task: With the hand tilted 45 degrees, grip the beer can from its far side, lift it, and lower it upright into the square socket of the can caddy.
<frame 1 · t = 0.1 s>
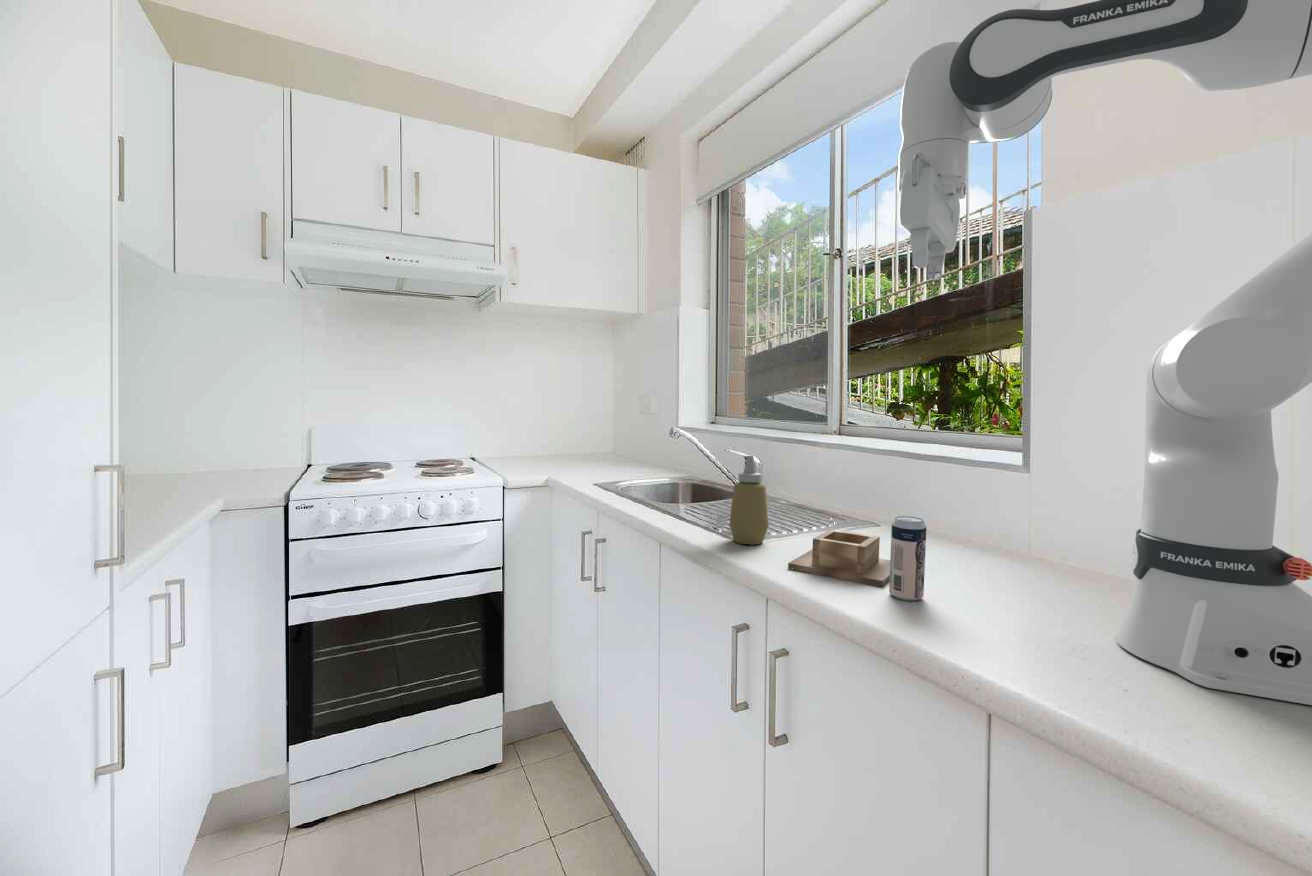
hand: (927, 273, 82), 48 cm above the worktop, tool pointing down, fingers open, 8 cm apart
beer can: (905, 598, 87), on the worktop
can caddy: (845, 568, 101), on the worktop
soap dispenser: (748, 543, 119), on the worktop
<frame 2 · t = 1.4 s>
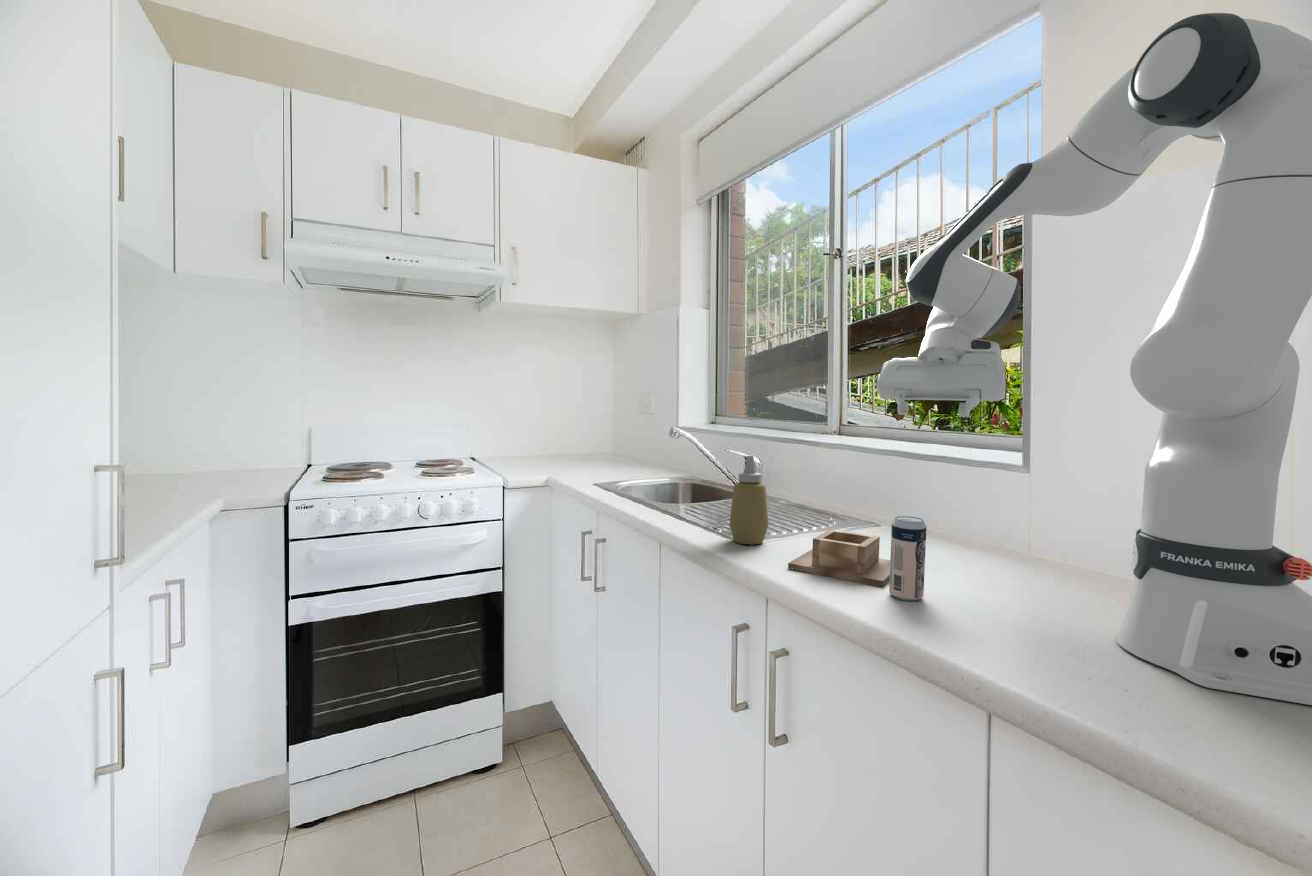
hand: (931, 413, 97), 28 cm above the worktop, tool tilted 45°, fingers open, 8 cm apart
nothing on the worktop moved.
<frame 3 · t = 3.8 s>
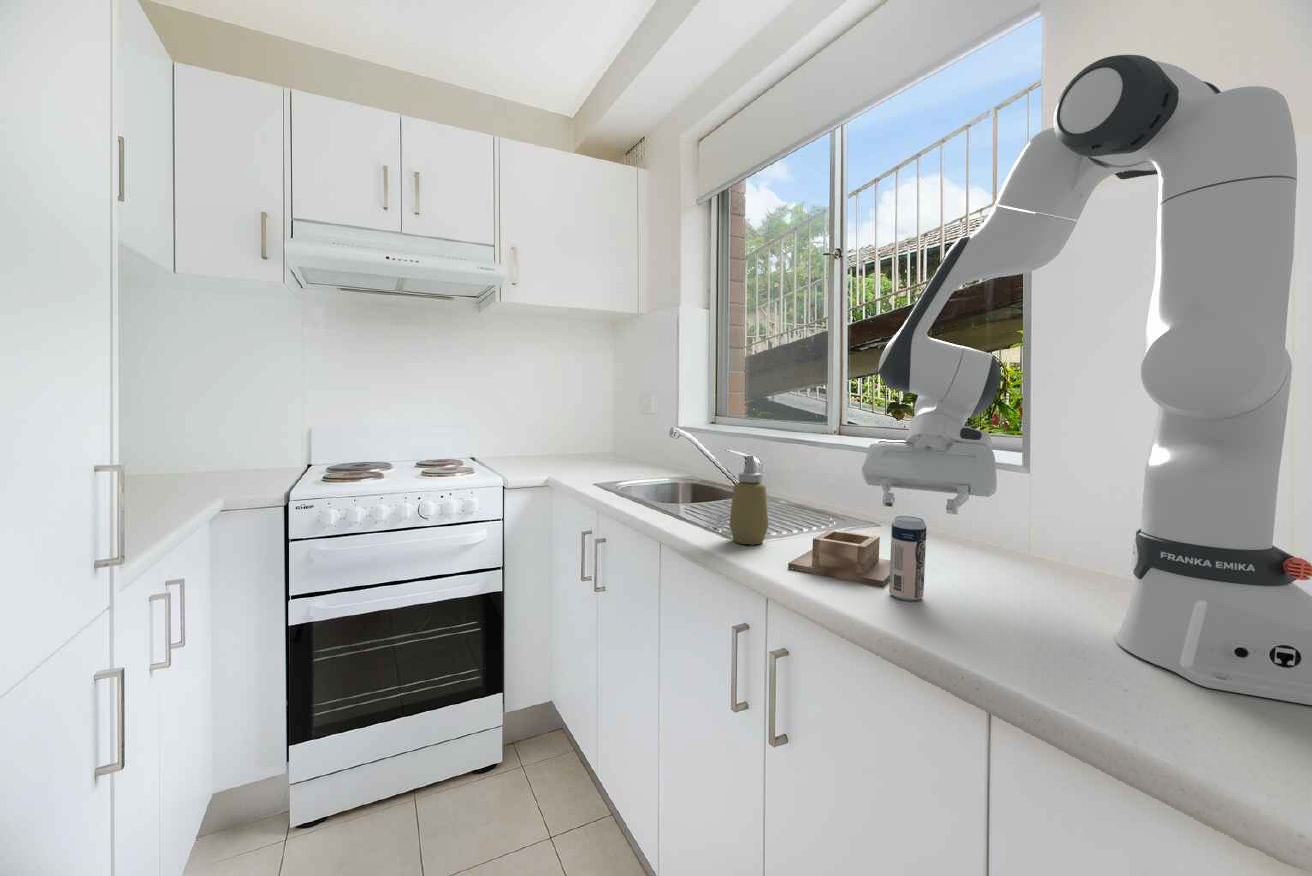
hand: (918, 508, 91), 13 cm above the worktop, tool tilted 45°, fingers open, 8 cm apart
nothing on the worktop moved.
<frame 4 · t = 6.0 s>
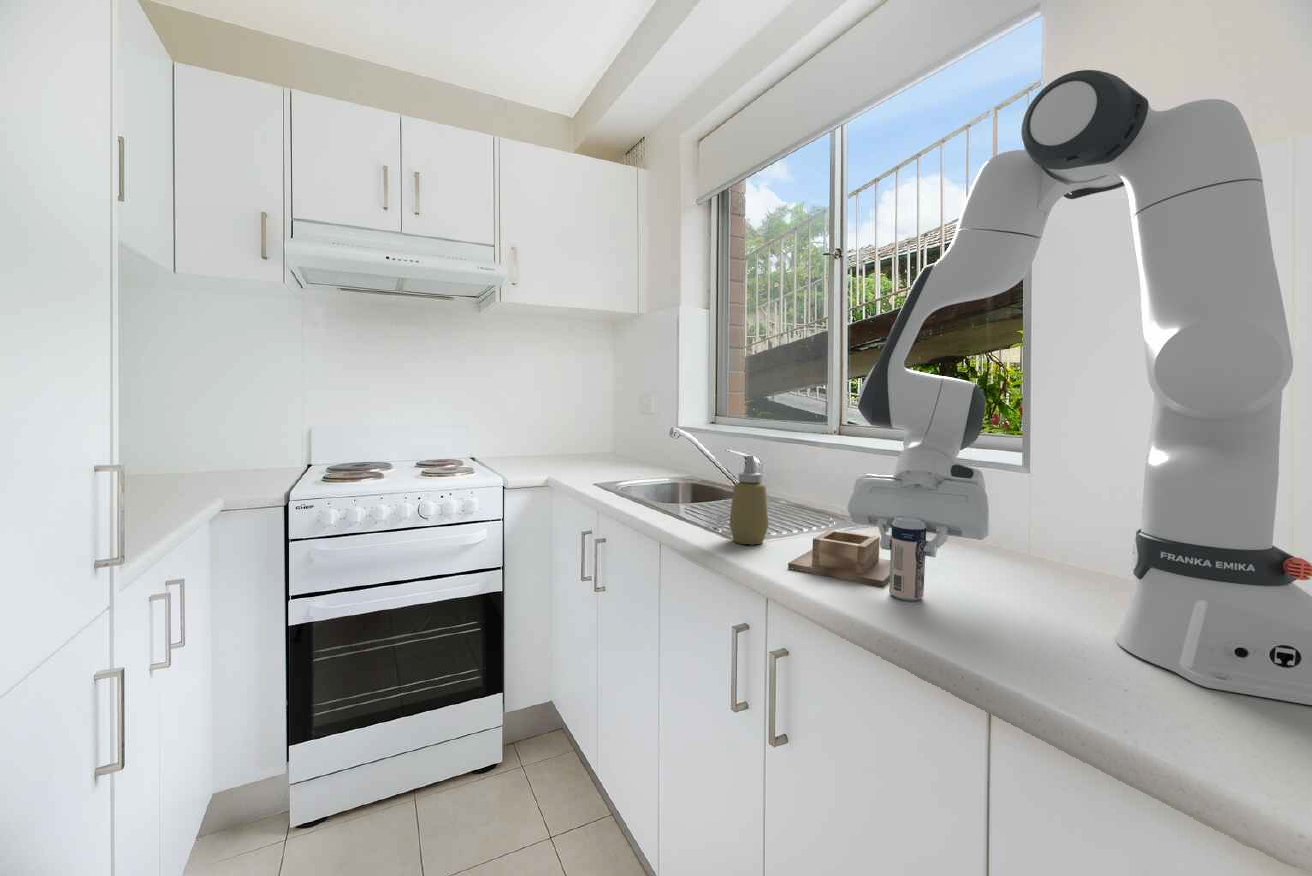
hand: (906, 551, 86), 7 cm above the worktop, tool tilted 45°, fingers closed on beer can, 5 cm apart
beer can: (905, 598, 87), on the worktop, touching gripper
everything else where it was.
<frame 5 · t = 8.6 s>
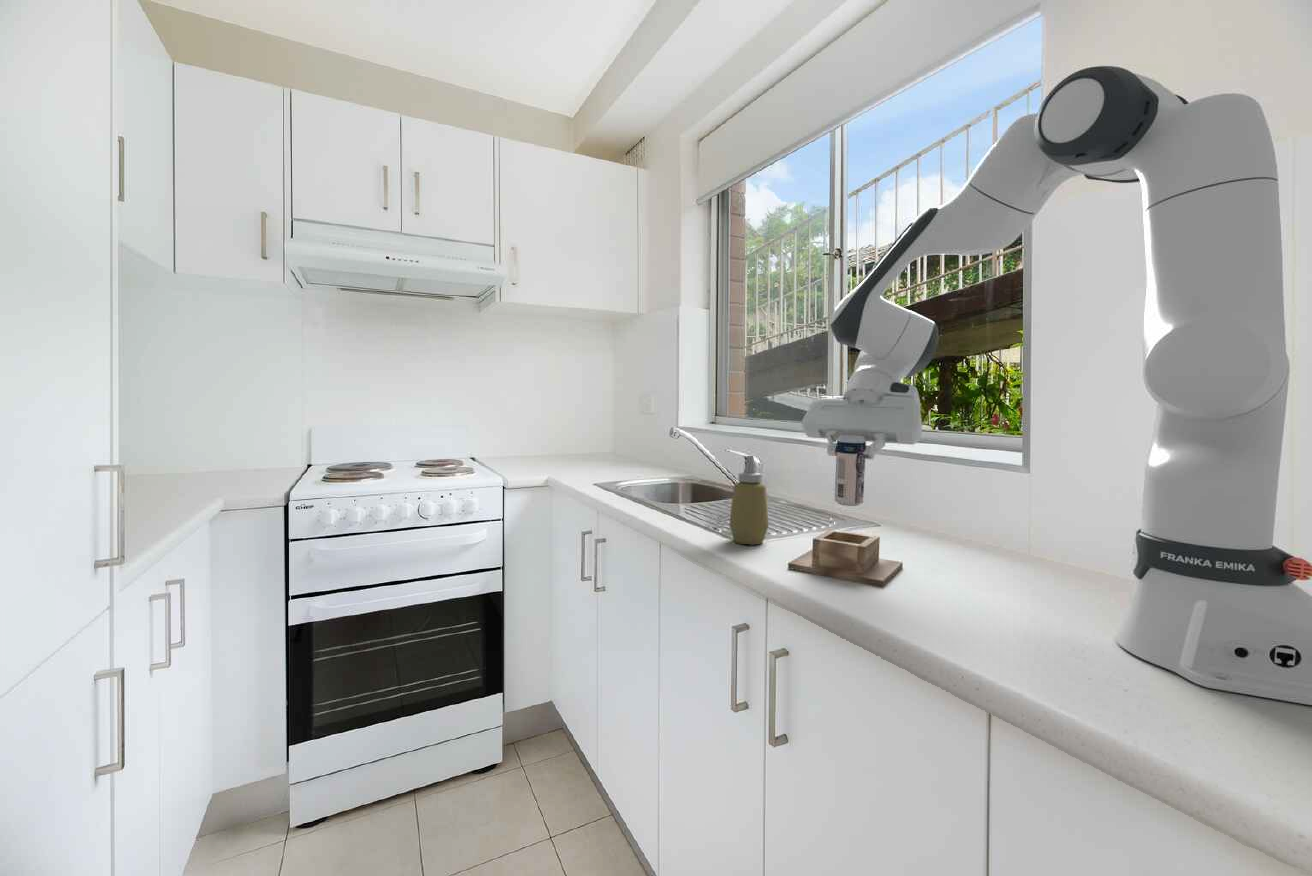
hand: (849, 455, 99), 20 cm above the worktop, tool tilted 45°, fingers closed on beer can, 5 cm apart
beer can: (848, 504, 100), point 11 cm above the worktop, touching gripper
everything else where it was.
when the fingers open (10 cm above the worktop, at t = 11.5 s): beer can stays where it is, resting on can caddy.
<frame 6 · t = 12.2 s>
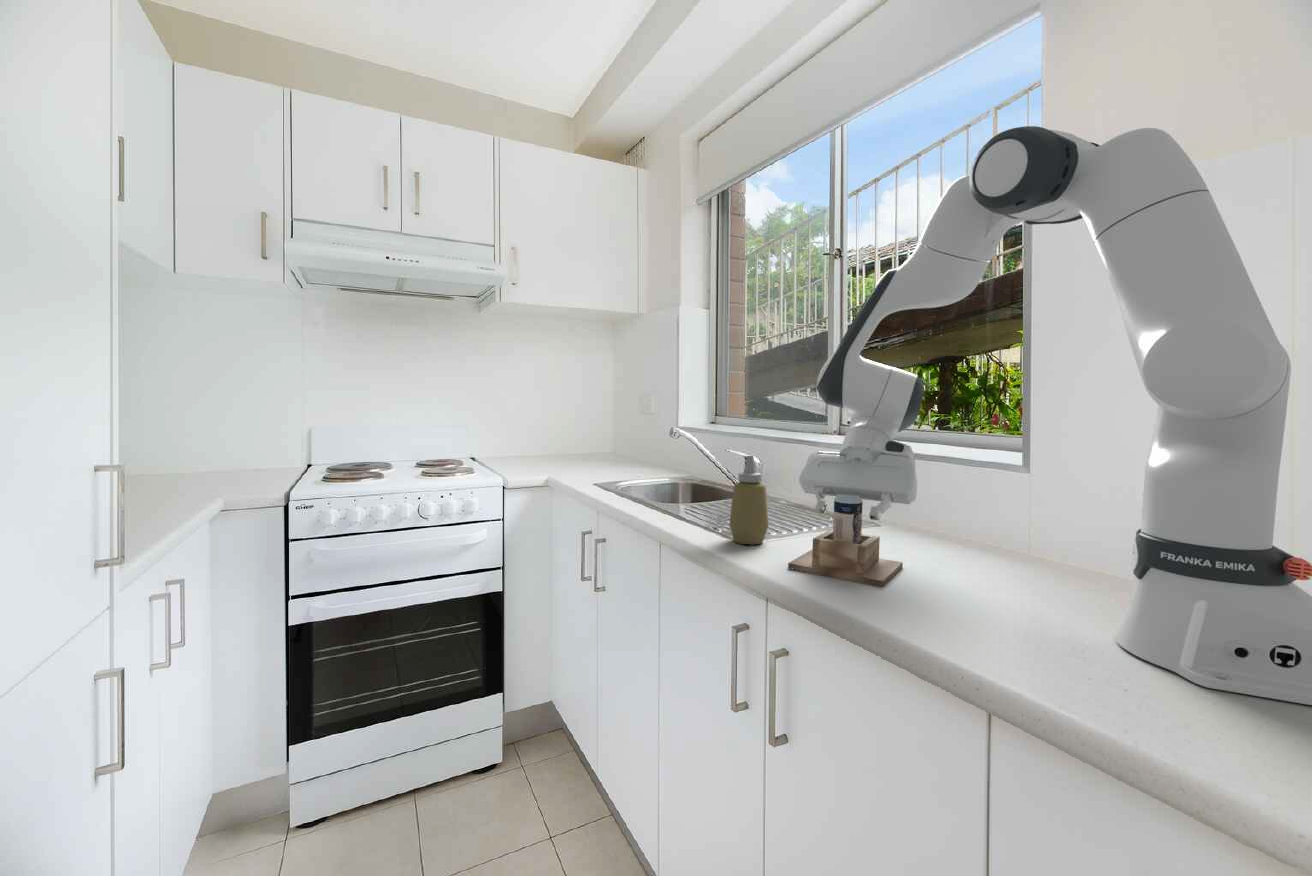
hand: (846, 514, 100), 10 cm above the worktop, tool tilted 45°, fingers open, 8 cm apart
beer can: (846, 563, 101), point 1 cm above the worktop, touching can caddy
everything else where it was.
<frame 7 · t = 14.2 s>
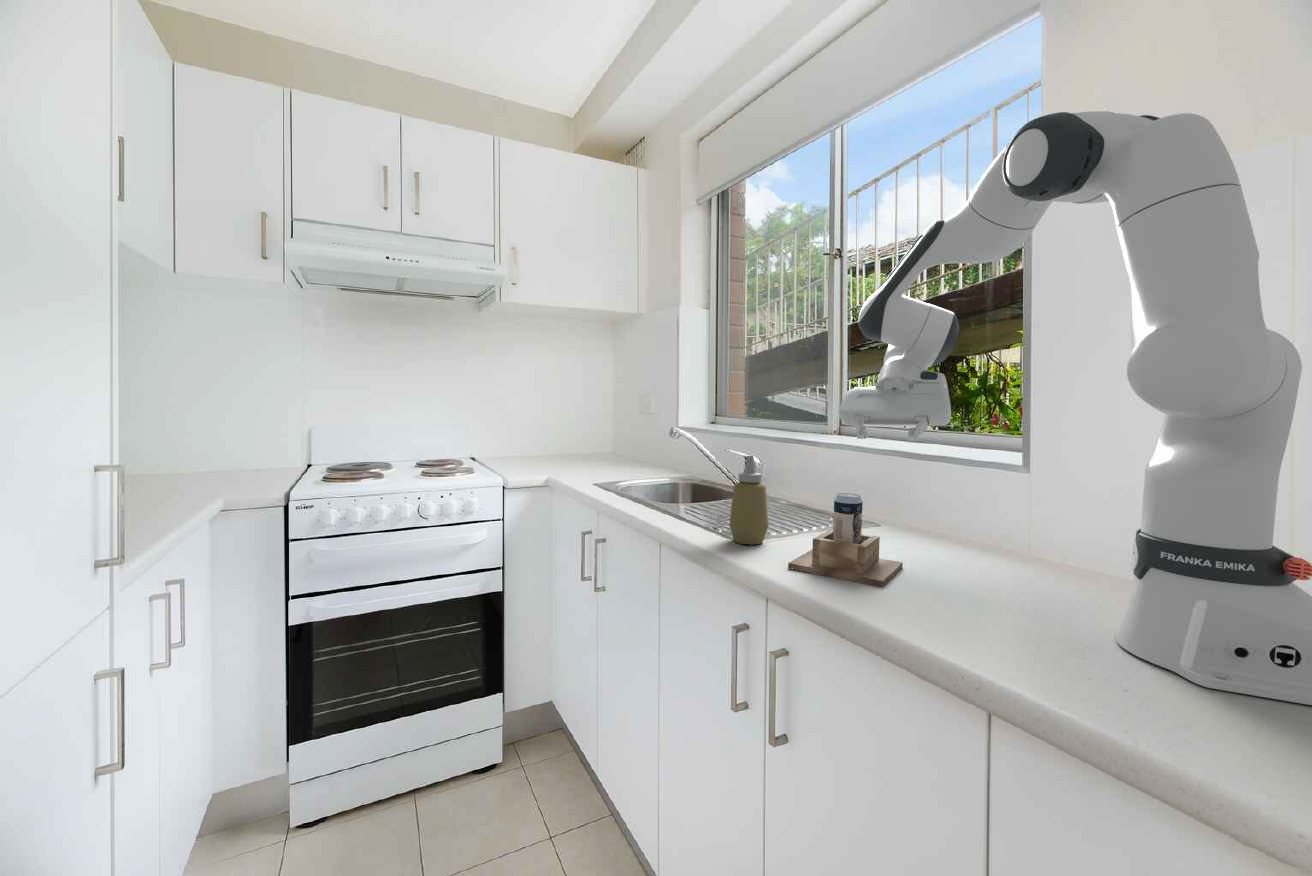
hand: (886, 437, 108), 23 cm above the worktop, tool tilted 45°, fingers open, 8 cm apart
nothing on the worktop moved.
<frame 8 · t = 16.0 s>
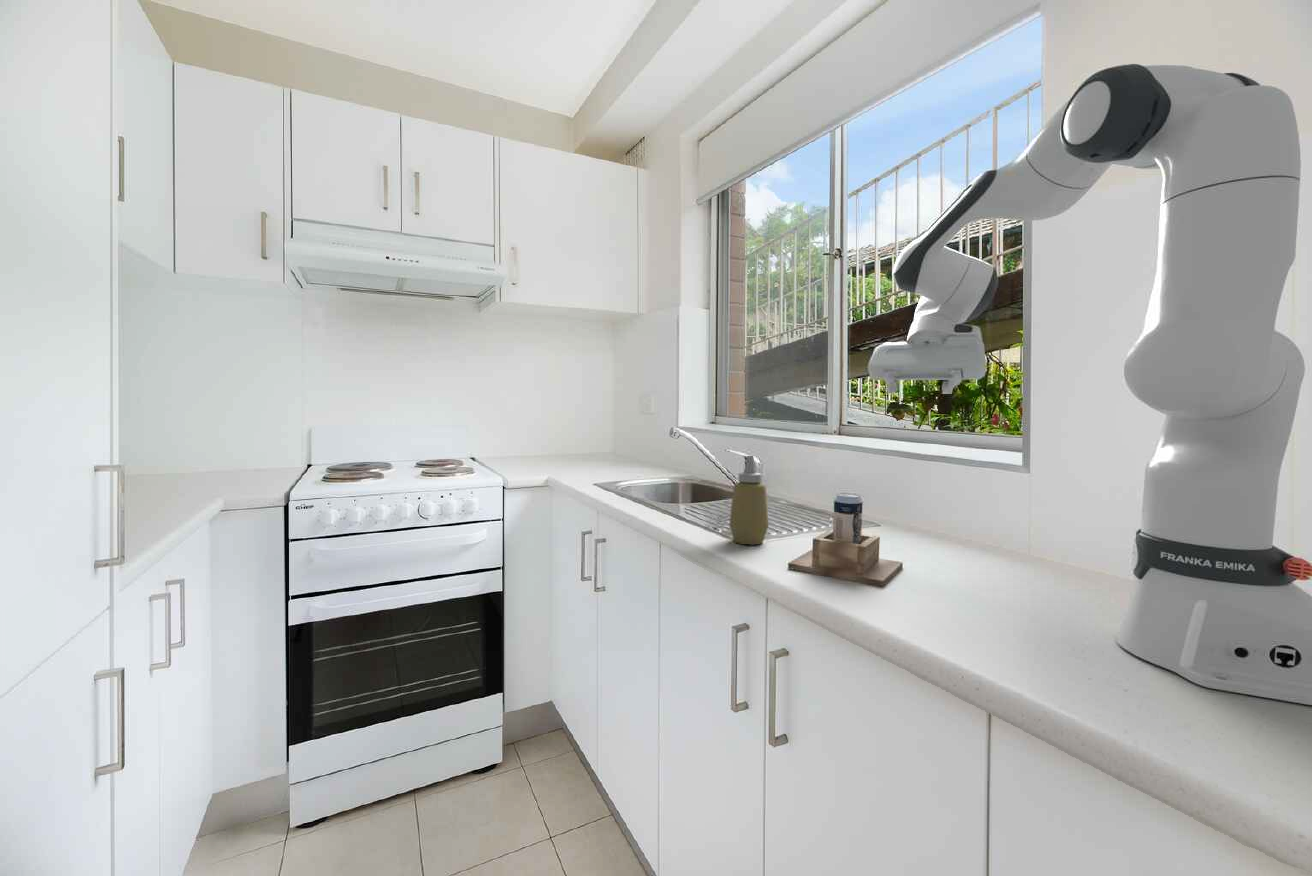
hand: (918, 391, 105), 31 cm above the worktop, tool tilted 45°, fingers open, 8 cm apart
nothing on the worktop moved.
at the end: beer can 0.3 cm off-centre on the can caddy, point 0.8 cm above the can caddy's base; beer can tilted 0°; the gripper is holding nothing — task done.
